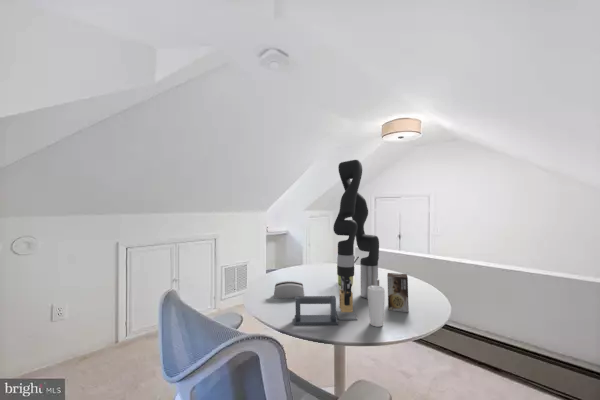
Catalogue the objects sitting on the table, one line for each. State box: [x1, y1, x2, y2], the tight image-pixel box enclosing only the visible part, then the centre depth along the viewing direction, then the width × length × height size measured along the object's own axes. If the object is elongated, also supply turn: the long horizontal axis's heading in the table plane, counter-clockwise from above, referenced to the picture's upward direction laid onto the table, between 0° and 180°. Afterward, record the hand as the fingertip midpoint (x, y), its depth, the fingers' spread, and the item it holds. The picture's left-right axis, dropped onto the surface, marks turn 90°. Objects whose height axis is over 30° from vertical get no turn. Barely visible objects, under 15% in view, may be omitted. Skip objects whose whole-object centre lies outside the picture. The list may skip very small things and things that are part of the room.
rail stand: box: [293, 295, 339, 326], centre depth 109 cm, size 18×7×10 cm, turn 90°
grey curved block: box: [273, 280, 305, 299], centre depth 139 cm, size 17×5×10 cm, turn 92°
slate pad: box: [336, 310, 358, 321], centre depth 114 cm, size 8×8×1 cm
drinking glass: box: [367, 285, 386, 328], centre depth 106 cm, size 7×7×15 cm
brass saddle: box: [338, 289, 354, 312], centre depth 114 cm, size 5×5×8 cm
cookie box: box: [386, 272, 410, 313], centre depth 122 cm, size 9×6×16 cm
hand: (345, 302), depth 114 cm, fingers closed on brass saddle, 5 cm apart
